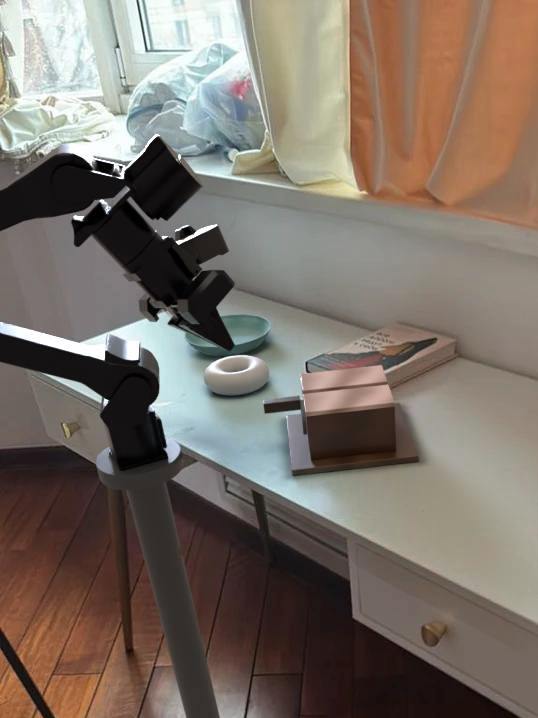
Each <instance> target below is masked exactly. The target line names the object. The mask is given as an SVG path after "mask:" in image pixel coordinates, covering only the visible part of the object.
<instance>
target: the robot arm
mask: <svg viewBox="0 0 538 718" xmlns="http://www.w3.org/2000/svg"><path fill="white" fill-rule="evenodd" d="M202 188H204V184H203V182H202V181H201V179H200V177H199V176H198V174H197V173H196V172H195V171H194V169H193V167H191V166H190V164H189V163H188V161H186V159H185V158H184V157H183V156H182V154H179V153H177V152H176V151H175V150H174V149H173V147H172V146H171V145H170V144H168V143H167V141H166V140H164V138H163V137H162V136H161V135H160V134H158V133H157V134H156V133H155V135H153V137H152V138H151V139H150V140H149V141H148V142H147V144H146V145H145V148H144V149H143V150H142V151H141V152H140V153H139V154H138V155H137V156H136V157H135V158H134V159H133V160H132V161H131V162H130V163H129V164H128V165H127V166H126V165H123V164H121V163H120V164H119V163H117V162H111V161H108V160H103V159H99V158H95V157H94V155H93V154H92V153H91V152H90V151H88V150H87V149H86V148H84V147H82V146H80V145H78V144H76V143H63V144H60V145H58V146H57V147H55V148H54V149H52V150H51V151H50V152H48V153H47V154H45V155H43V156H42V157H41V158H39V159H38V160H36V161H35V162H34V163H32V164H31V165H30V166H29V167H28V168H26V169H25V170H24V171H22V172H21V173H20V174H19V175H17V176H16V177H14V178H13V179H12V180H10V181H8V182H6V183H3V184H1V185H0V232H2V231H4V230H7V229H9V228H11V227H14V226H16V225H19V224H21V223H23V222H27V221H32V220H36V219H38V220H39V219H48V218H56V217H60V216H65V215H70V214H74V213H79V212H82V211H85V210H87V209H88V208H90V207H91V206H92V205H93V203H94V202H95V201H98V202H97V203H96V204H95V205H94V206H93V207H92V208H91V209H90V210H89V211H88V212H87V213H85V215H84V216H83V215H82V216H79V215H78V216H77V215H73V216H72V217H71V220H70V224H71V227H72V230H73V246H74V247H76V248H80V247H81V246H83V244H84V243H86V241H87V240H88V239H90V237H91V238H92V239H93V240H94V241H95V242H96V243H97V244H98V245H99V246H100V247H101V248H102V250H103V251H105V253H107V254H108V255H109V256H110V257H111V259H113V261H114V262H115V263H116V264H117V265H118V266H119V267H120V268H121V269H122V270H123V271H124V273H123V274H122V276H123V277H124V278H125V279H126V280H127V281H128V282H135V284H137V285H138V287H140V288H141V290H142V291H144V293H143V295H142V296H141V297H140V298H139V299H138V311H139V312H140V313H141V315H143V316H144V317H145V318H146V319H147V321H148V322H150V323H157V322H158V321H159V320H160V317H159V315H158V313H159V312H164V313H165V314H166V315H167V317H169V318H170V319H169V320H168V321H167V326H169V327H171V328H174V329H176V330H179V331H181V332H183V333H185V332H186V333H188V334H190V335H192V336H195V337H197V338H199V339H201V340H204V341H206V342H208V343H210V344H213V345H215V346H217V347H219V348H221V349H224V350H226V351H231V350H232V349H233V347H234V346H235V344H234V342H233V340H232V338H231V336H230V334H229V332H228V330H227V329H226V327H225V325H224V323H223V321H222V319H221V317H220V316H221V315H220V312H219V311H218V306H219V305H220V303H222V301H223V300H224V299H225V298H226V297H227V295H228V294H229V293H230V292H231V290H232V289H234V287H235V285H236V282H235V281H234V280H233V279H232V277H231V276H230V275H229V274H228V273H227V272H226V271H225V270H224V269H208V270H203V268H202V267H201V266H200V265H202V264H204V263H206V262H208V261H210V260H212V259H214V258H216V257H217V256H224V255H226V254H228V253H229V252H230V249H229V247H228V245H227V243H226V240H225V237H224V236H223V233H222V230H221V228H220V225H219V224H213V225H208V226H205V227H203V228H199V229H198V230H196V229H195V228H194V227H193V226H192V225H190V224H189V225H183V226H182V227H180V228H178V229H176V230H174V237H172V236H168V235H167V236H162V235H160V234H159V232H158V231H157V230H156V229H155V227H153V226H152V225H151V223H150V222H149V221H148V220H147V219H146V218H145V217H144V215H142V214H141V213H140V211H139V210H138V209H137V208H136V207H135V205H133V203H131V201H129V198H131V200H132V201H133V202H134V203H135V204H136V205H137V206H138V208H139V209H140V210H141V212H143V213H144V214H145V216H147V218H149V219H150V220H151V221H155V220H157V221H159V220H160V219H162V220H163V221H165V222H168V221H169V220H170V219H171V218H172V217H173V216H174V215H175V214H176V213H178V211H180V209H182V208H183V207H184V206H185V205H186V204H187V203H188V202H189V201H190V200H191V199H192V198H193V197H194V196H195V195H196V194H197V193H198V192H199V191H200V190H201V189H202ZM108 199H109V200H110V199H112V200H111V201H110V203H109V202H107V201H105V200H108ZM0 363H2V364H5V365H9V366H14V367H17V368H21V369H25V370H29V371H33V372H36V373H41V374H45V375H49V376H52V377H56V378H60V379H64V380H68V381H72V382H76V383H80V384H81V385H83V386H86V387H87V388H88V389H89V390H91V391H93V392H94V393H95V394H97V395H98V396H100V397H101V402H100V409H99V417H100V419H101V420H102V423H103V427H104V430H105V434H106V438H107V441H108V445H109V446H110V449H109V450H108V451H109V454H110V455H111V457H112V459H113V460H114V462H115V464H116V465H117V467H118V468H119V470H120V471H125V470H129V469H132V468H136V467H139V466H143V465H146V464H150V463H153V462H157V461H160V460H164V459H167V458H168V454H167V452H166V451H165V450H164V449H165V448H167V443H166V439H165V437H166V434H165V430H164V425H163V421H162V419H161V417H160V416H159V415H158V414H157V413H156V410H155V409H154V407H153V406H152V405H153V404H154V403H155V402H156V401H157V399H158V397H159V395H160V387H161V384H160V383H161V382H160V366H159V365H160V364H159V361H158V360H157V358H156V357H155V355H154V353H153V352H151V350H149V349H147V348H145V347H142V346H141V341H140V340H135V341H131V340H126V339H123V338H121V337H119V336H117V335H114V334H111V333H108V334H106V338H105V344H96V345H88V344H83V343H79V342H76V341H72V340H68V339H65V338H62V337H58V336H54V335H51V334H46V333H43V332H39V331H35V330H32V329H28V328H24V327H20V326H18V325H13V324H10V323H6V322H3V321H0ZM109 446H108V447H109Z"/></svg>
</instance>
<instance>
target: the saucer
mask: <svg viewBox="0 0 538 718" xmlns="http://www.w3.org/2000/svg"><path fill="white" fill-rule="evenodd" d="M220 317H221V319H222V321H223V323H224V325H225V327H226V329H227V330H228V332H229V334H230V336H231V338H232V340H233V342H234V344H235V346H234V347H233V349H232V350H231V351H226V350H224V349H221V348H219V347H217V346H215V345H213V344H210V343H208V342H206V341H204V340H201V339H199V338H197V337H195V336H192V335H190V334H188V333H186V332H184V335H183V336H184V337H183V338H184V340H185V341H186V342H187V343H188V344H189V345H190V346H191V347H192V348H194V349H195V350H196V351H198V352H200V353H201V354H203V355H207V356H211V357H230V356H238V355H243V354H246V353H248V352H250V351H254V350H255V349H256V348H258V347H260V346H261V344H262V343H263V342H264V341H265V340H266V338H267V337H268V335H269V334H270V332H271V329H272V325H273V324H272V321H270V320H269V319H267V318H266V317H264V316H260V315H255V314H248V313H247V314H246V313H234V314H233V313H232V314H226V315H220Z"/></svg>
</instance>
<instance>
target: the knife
mask: <svg viewBox="0 0 538 718" xmlns="http://www.w3.org/2000/svg"><path fill="white" fill-rule="evenodd" d="M262 404H263V405H262V406H263V411H264V414H265V415H266V414H276V413H284V412H293V411H300V414H301V417H302V426H303V435H307V427H306V418H305V409H304V400H303V397H301V398H300V395H293V396H284V397H275V398H265V399H262Z"/></svg>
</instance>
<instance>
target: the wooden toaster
mask: <svg viewBox="0 0 538 718" xmlns="http://www.w3.org/2000/svg"><path fill="white" fill-rule="evenodd" d="M299 377H300V387H301V395H302V398H303V400H304V409H305V418H306V427H307V435H303V426H302V417H301V413H295V414H287V415H286V425H287V434H288V435H287V436H288V446H289V457H290V467H291V475H292V476H302V475H311V474H321V473H328V472H336V471H337V472H338V471H344V470H345V471H346V470H353V469H354V470H355V469H363V468H372V467H373V468H374V467H381V466H390V465H398V464H399V465H400V464H407V463H415V462H416V463H417V462H419V461H420V459H419V457H420V455H419V453H418V450H417V447H416V445H415V443H414V439H413V436H412V434H411V431H410V430H411V429H410V428H409V425H408V422H407V420H406V416H405V414H404V410H403V408H402V404H401V403H400V402H395V400H394V397H393V394H392V393H393V392H392V390H391V388H390V385H389V384H388V383H389V382H388V379H387V376H386V373H385V370H384V367H383V365H382V364H378V365H370V366H361V367H360V366H359V367H352V368H343V369H334V370H326V371H325V370H324V371H316V372H307V373H300V374H299Z"/></svg>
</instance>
